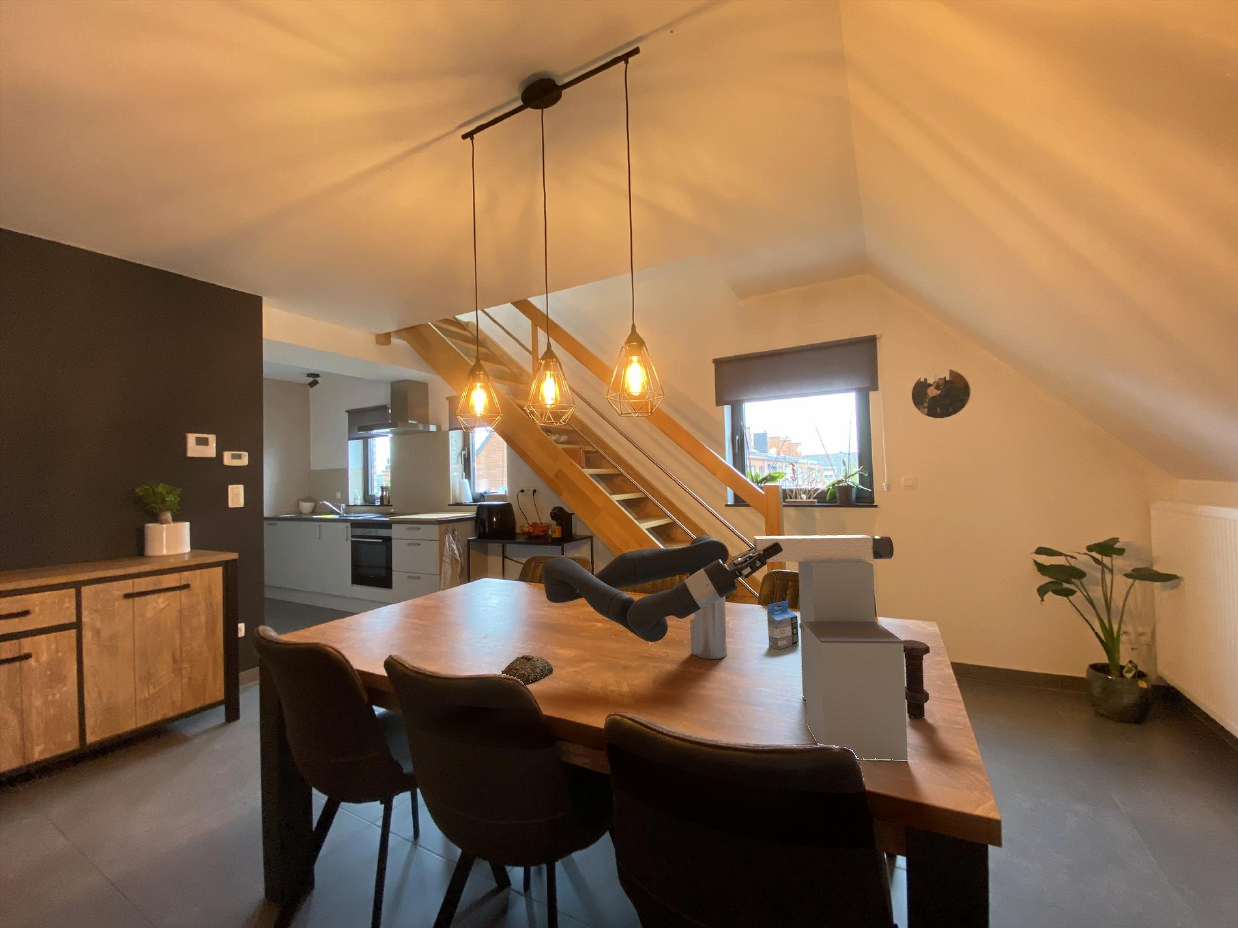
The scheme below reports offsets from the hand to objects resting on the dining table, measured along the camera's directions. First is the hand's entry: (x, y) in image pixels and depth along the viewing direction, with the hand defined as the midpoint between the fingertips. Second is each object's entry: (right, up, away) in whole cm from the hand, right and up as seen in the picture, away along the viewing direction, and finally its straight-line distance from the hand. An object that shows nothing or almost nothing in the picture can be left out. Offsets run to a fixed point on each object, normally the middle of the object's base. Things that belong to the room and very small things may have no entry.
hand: (778, 544), depth 112 cm
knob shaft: (+9, -3, -1) cm, 10 cm away
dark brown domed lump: (-59, -38, +22) cm, 74 cm away
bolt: (+27, -35, -6) cm, 44 cm away
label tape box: (+14, -36, +39) cm, 55 cm away
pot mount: (+11, -35, -9) cm, 37 cm away
